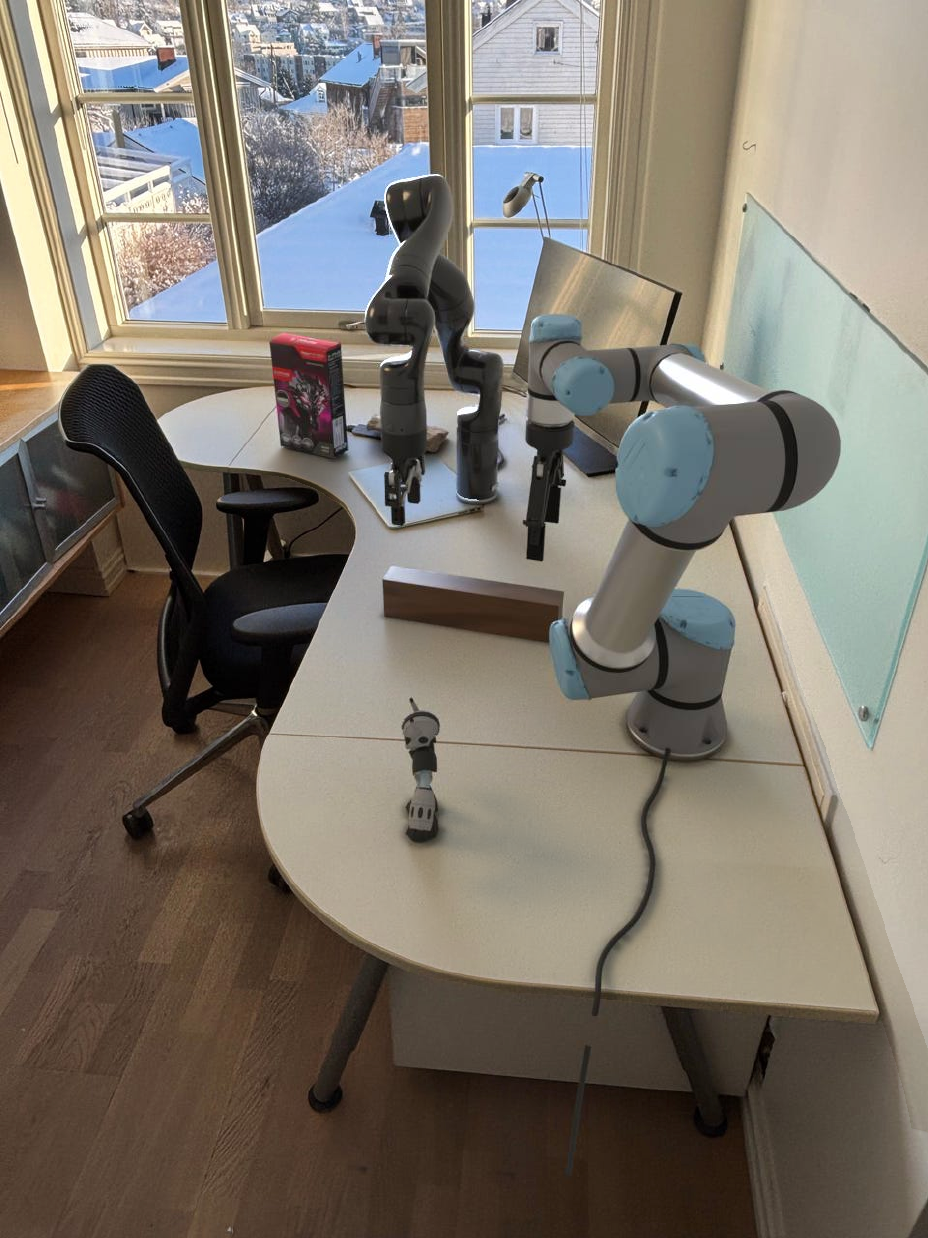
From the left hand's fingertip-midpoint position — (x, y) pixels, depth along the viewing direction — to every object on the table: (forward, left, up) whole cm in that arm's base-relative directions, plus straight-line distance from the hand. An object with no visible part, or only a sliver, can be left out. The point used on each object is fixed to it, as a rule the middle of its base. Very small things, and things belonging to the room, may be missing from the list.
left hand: (406, 513), depth 159 cm
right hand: (+5, +23, -2) cm, 24 cm away
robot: (+52, +7, -21) cm, 56 cm away
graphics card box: (-72, -32, -21) cm, 81 cm away
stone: (-79, -10, -21) cm, 82 cm away
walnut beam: (+2, +12, -21) cm, 24 cm away
